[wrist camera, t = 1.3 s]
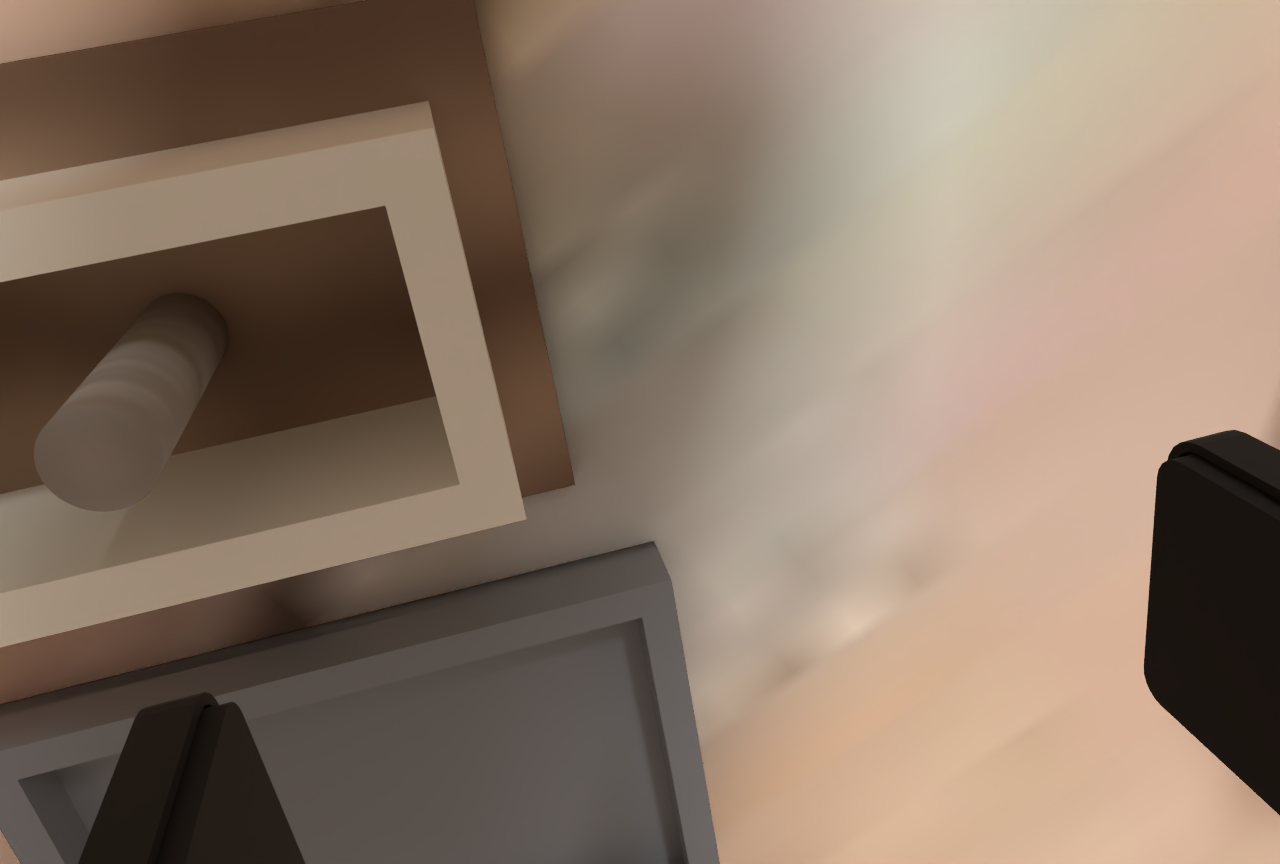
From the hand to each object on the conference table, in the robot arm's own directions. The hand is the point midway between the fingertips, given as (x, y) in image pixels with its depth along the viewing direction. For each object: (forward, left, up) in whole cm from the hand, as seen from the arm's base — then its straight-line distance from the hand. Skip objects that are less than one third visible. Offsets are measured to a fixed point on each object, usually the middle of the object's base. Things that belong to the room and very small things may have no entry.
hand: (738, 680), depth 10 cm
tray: (+16, -8, -18) cm, 25 cm away
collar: (0, -9, -17) cm, 19 cm away
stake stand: (0, -9, -18) cm, 20 cm away
